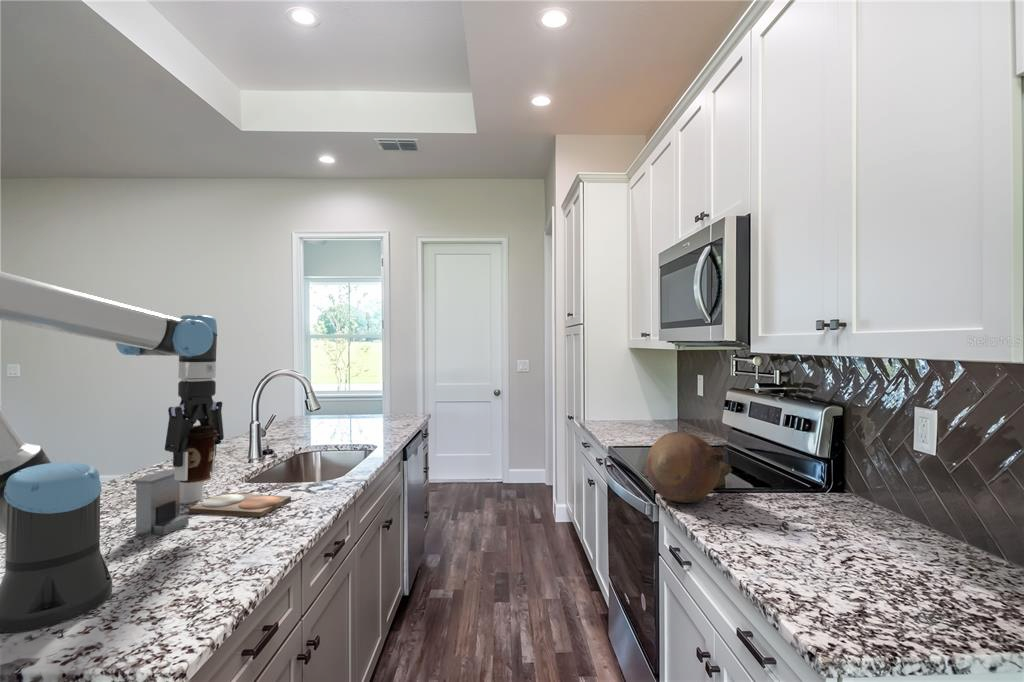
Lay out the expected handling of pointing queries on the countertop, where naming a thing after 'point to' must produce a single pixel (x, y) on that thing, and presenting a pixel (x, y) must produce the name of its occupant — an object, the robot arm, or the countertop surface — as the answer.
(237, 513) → the walnut board
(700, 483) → the jug
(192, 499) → the cup
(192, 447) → the coffee cup
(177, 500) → the miniature fireplace
